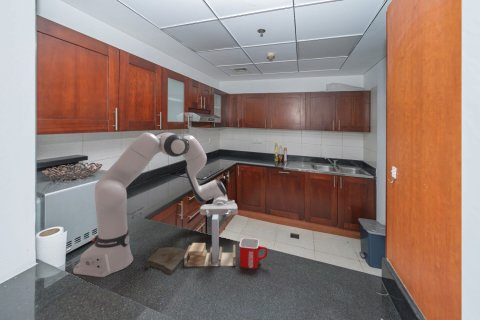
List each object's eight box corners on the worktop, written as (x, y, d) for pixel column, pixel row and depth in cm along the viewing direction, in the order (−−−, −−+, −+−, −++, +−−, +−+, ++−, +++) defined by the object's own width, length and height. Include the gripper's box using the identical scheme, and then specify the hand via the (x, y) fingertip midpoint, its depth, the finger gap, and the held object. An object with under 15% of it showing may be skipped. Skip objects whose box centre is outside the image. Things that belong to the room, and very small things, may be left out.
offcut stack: (188, 265, 89) (187, 252, 88) (192, 254, 97) (191, 242, 97) (205, 265, 89) (204, 252, 89) (207, 254, 98) (207, 242, 97)
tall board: (212, 262, 91) (211, 219, 89) (213, 255, 97) (213, 214, 94) (217, 262, 91) (217, 219, 89) (218, 255, 97) (218, 214, 94)
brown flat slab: (172, 279, 83) (172, 269, 83) (139, 274, 86) (139, 265, 85) (190, 255, 99) (189, 247, 99) (162, 252, 102) (162, 244, 102)
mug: (238, 270, 89) (238, 246, 87) (241, 258, 97) (241, 237, 95) (266, 273, 86) (267, 249, 85) (267, 261, 95) (267, 239, 93)
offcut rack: (184, 269, 89) (184, 257, 88) (189, 256, 99) (189, 245, 98) (235, 268, 89) (235, 257, 89) (235, 255, 99) (235, 244, 99)
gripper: (201, 200, 117) (197, 209, 104) (237, 200, 118) (237, 208, 104) (201, 211, 118) (197, 221, 104) (237, 210, 119) (237, 220, 105)
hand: (217, 215), depth 104 cm, fingers open, 8 cm apart
